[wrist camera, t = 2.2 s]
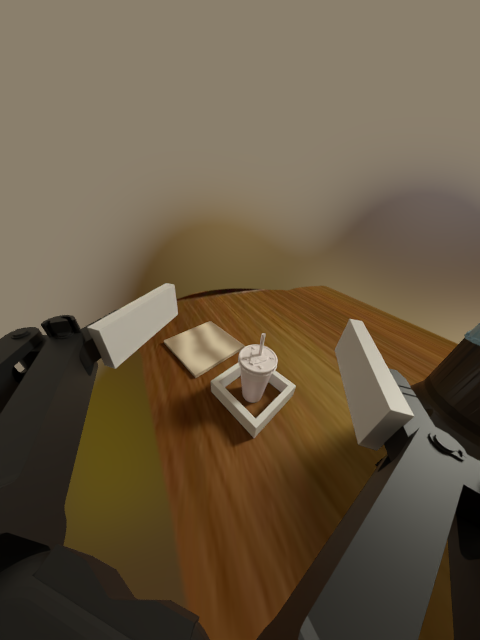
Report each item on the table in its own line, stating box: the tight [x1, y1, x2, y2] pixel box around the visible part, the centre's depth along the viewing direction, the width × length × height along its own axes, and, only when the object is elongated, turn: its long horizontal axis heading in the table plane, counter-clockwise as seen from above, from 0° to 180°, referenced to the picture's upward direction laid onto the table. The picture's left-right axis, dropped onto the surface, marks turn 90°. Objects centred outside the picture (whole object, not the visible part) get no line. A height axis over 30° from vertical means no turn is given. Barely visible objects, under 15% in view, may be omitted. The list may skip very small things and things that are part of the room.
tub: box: [211, 363, 296, 438], centre depth 34 cm, size 11×11×3 cm
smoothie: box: [238, 333, 278, 403], centre depth 31 cm, size 6×6×14 cm
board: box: [164, 321, 244, 378], centre depth 45 cm, size 14×14×1 cm
